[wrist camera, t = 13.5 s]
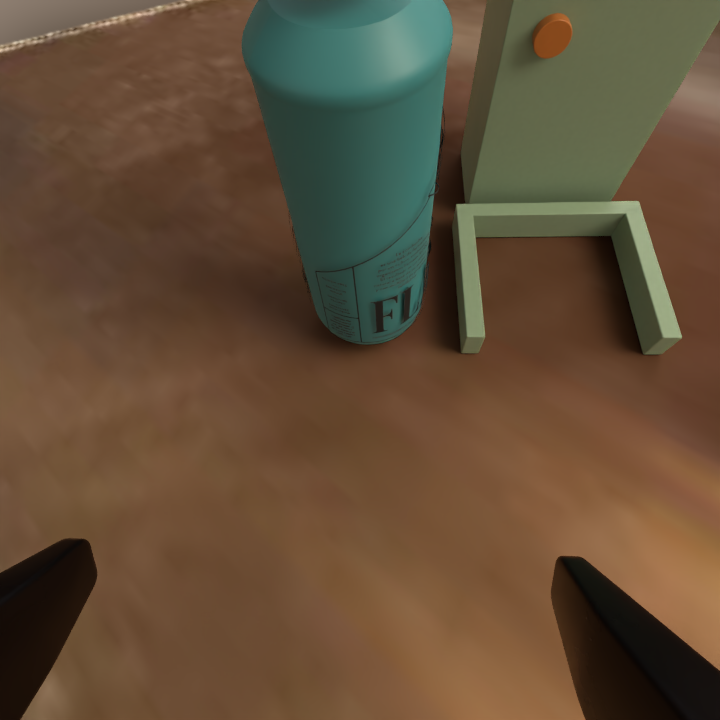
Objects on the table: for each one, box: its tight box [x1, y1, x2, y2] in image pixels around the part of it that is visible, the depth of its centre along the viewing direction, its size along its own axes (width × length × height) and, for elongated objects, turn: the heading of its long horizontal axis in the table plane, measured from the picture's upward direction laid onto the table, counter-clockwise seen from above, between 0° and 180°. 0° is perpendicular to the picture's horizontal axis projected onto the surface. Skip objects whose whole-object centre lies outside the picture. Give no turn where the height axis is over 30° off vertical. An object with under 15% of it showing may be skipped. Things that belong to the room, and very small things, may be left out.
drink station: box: [452, 0, 720, 354], centre depth 21 cm, size 17×11×16 cm, turn 178°
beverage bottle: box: [242, 0, 453, 345], centre depth 18 cm, size 6×7×20 cm
